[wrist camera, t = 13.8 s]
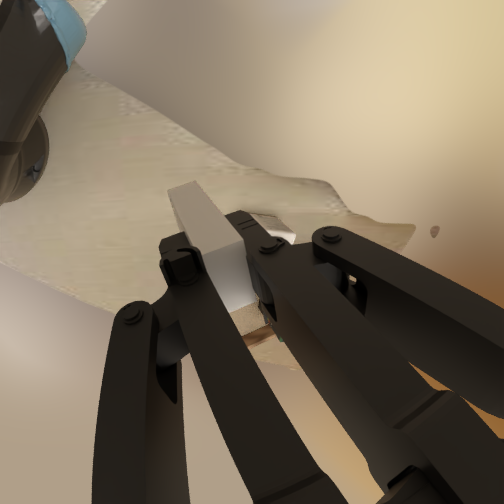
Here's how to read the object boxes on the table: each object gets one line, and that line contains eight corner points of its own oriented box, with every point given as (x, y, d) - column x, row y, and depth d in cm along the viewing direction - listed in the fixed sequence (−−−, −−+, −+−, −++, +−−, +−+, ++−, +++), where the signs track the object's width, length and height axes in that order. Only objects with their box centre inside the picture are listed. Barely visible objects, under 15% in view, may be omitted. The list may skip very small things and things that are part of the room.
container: (265, 252, 61) (297, 290, 50) (229, 250, 57) (256, 290, 47) (277, 216, 58) (313, 249, 47) (239, 211, 54) (271, 244, 44)
